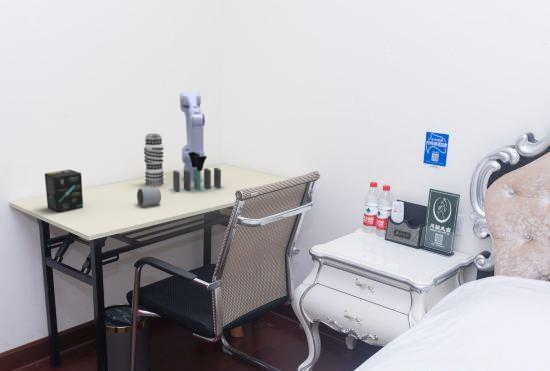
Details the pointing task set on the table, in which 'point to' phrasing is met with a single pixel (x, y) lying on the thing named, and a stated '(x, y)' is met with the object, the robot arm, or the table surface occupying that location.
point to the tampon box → (64, 190)
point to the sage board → (195, 189)
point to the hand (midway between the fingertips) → (197, 169)
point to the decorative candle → (153, 161)
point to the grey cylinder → (148, 196)
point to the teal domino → (197, 179)
